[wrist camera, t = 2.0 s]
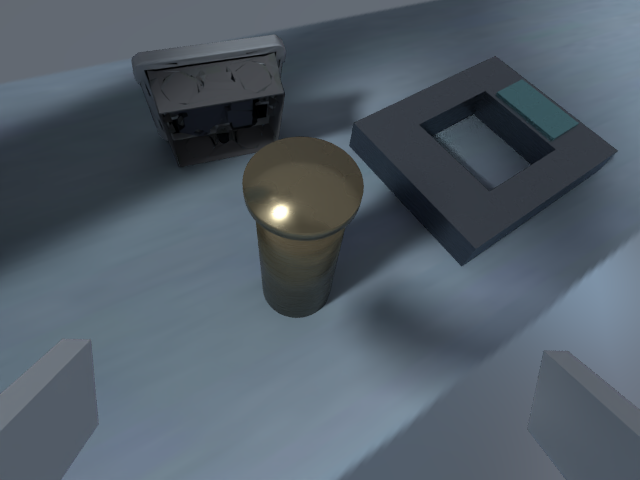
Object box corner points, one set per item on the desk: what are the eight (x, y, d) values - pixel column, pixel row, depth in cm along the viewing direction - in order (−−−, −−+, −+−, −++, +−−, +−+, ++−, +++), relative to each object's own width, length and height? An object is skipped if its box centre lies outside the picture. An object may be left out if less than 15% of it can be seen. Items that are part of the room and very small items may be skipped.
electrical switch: (275, 114, 35) (276, 14, 27) (292, 163, 33) (299, 73, 25) (160, 134, 33) (122, 33, 25) (171, 188, 31) (135, 99, 23)
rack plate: (461, 266, 29) (477, 247, 27) (349, 145, 34) (354, 120, 32) (597, 171, 35) (619, 149, 32) (483, 79, 40) (496, 53, 37)
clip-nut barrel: (247, 315, 26) (227, 220, 17) (267, 244, 29) (259, 127, 19) (329, 330, 26) (355, 244, 17) (341, 258, 29) (369, 148, 19)
